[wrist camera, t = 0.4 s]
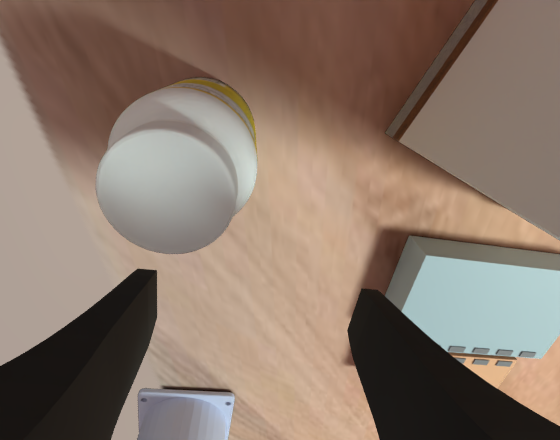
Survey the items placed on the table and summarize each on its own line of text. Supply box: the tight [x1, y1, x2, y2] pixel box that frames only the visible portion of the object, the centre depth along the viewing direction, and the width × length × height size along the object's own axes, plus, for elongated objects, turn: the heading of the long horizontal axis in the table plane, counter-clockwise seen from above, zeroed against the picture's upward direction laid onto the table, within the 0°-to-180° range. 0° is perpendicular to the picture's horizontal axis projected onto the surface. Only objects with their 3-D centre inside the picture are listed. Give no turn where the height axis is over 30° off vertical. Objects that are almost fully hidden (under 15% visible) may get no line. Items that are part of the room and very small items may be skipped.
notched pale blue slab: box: [385, 235, 560, 359], centre depth 24 cm, size 8×13×3 cm, turn 80°
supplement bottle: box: [96, 77, 257, 254], centre depth 14 cm, size 5×5×10 cm
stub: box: [448, 352, 517, 388], centre depth 26 cm, size 5×10×2 cm, turn 80°
